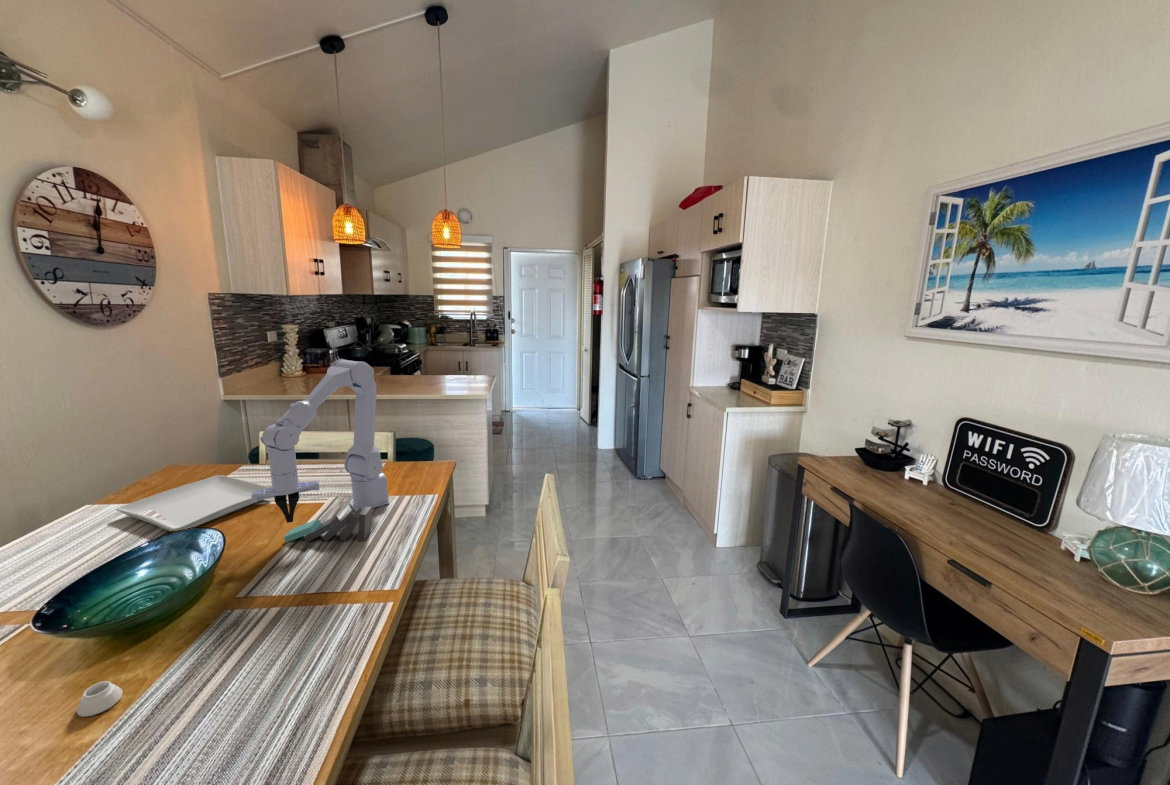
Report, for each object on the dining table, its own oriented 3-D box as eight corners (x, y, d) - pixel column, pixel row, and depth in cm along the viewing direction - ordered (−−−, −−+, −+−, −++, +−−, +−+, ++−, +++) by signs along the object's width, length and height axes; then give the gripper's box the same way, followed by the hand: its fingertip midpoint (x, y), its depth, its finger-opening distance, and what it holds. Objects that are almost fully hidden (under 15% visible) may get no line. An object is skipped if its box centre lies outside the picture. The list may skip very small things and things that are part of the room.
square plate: (116, 520, 132) (113, 507, 131) (221, 484, 156) (220, 473, 156) (175, 541, 122) (172, 527, 121) (278, 499, 146) (276, 487, 146)
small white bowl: (130, 689, 77) (93, 694, 76) (127, 673, 77) (90, 678, 76) (108, 715, 72) (68, 721, 71) (104, 699, 72) (64, 705, 71)
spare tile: (295, 533, 126) (321, 523, 126) (286, 542, 121) (313, 532, 121) (292, 528, 125) (318, 518, 125) (283, 537, 121) (310, 526, 121)
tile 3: (333, 533, 126) (354, 516, 126) (326, 541, 122) (347, 524, 122) (329, 529, 126) (350, 511, 126) (321, 537, 122) (342, 519, 121)
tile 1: (370, 532, 127) (371, 507, 126) (364, 541, 123) (365, 514, 121) (364, 532, 127) (365, 506, 125) (357, 540, 123) (358, 514, 121)
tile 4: (315, 533, 126) (339, 520, 126) (307, 542, 122) (332, 528, 122) (312, 528, 126) (336, 515, 125) (303, 537, 121) (328, 523, 121)
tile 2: (351, 533, 127) (365, 510, 126) (344, 541, 123) (358, 518, 121) (346, 530, 127) (359, 507, 125) (339, 538, 122) (352, 515, 121)
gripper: (315, 461, 127) (320, 508, 130) (249, 471, 119) (256, 521, 122) (317, 469, 121) (322, 518, 124) (248, 481, 113) (255, 532, 116)
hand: (290, 520), depth 123 cm, fingers closed
